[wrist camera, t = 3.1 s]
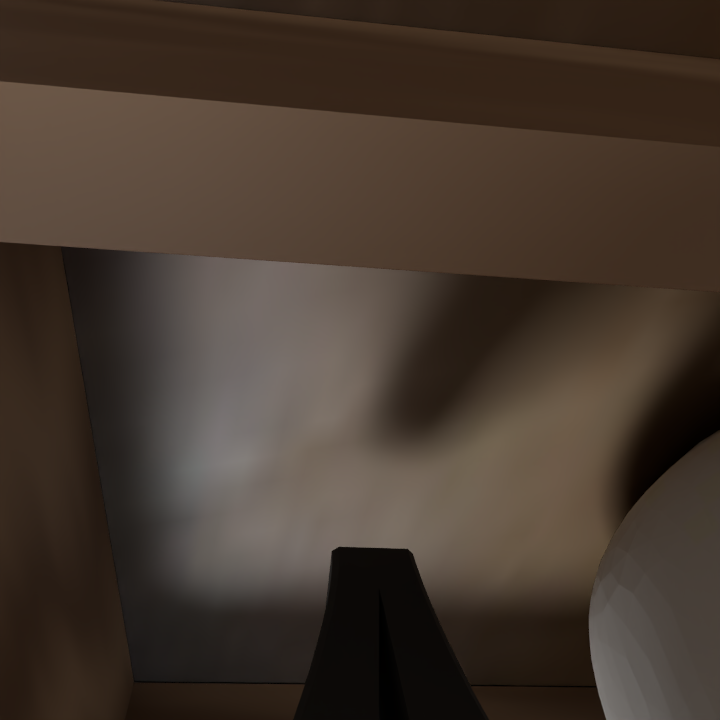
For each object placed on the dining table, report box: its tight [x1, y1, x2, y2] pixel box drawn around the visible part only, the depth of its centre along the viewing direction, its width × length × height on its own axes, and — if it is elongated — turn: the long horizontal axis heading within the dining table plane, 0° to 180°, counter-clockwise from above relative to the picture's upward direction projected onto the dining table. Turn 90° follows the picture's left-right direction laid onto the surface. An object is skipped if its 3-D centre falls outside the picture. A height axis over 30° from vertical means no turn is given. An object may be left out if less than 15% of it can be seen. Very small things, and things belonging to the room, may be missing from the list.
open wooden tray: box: [0, 0, 720, 720], centre depth 12 cm, size 17×24×5 cm
